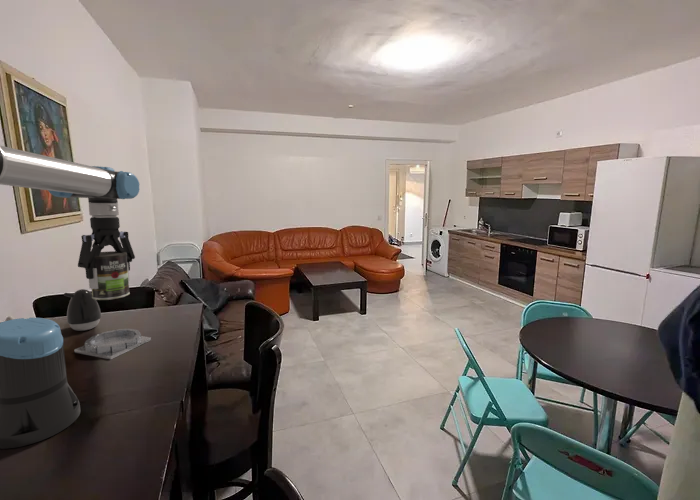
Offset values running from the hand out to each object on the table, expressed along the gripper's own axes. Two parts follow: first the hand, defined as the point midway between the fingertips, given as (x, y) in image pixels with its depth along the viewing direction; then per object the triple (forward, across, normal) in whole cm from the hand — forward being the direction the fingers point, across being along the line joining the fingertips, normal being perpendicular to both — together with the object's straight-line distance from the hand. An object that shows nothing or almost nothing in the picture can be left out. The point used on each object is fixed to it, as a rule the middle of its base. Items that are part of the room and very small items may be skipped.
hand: (110, 284), depth 111 cm
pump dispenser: (+22, +8, +24) cm, 33 cm away
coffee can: (+4, 0, 0) cm, 4 cm away
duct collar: (+21, 0, 0) cm, 21 cm away
